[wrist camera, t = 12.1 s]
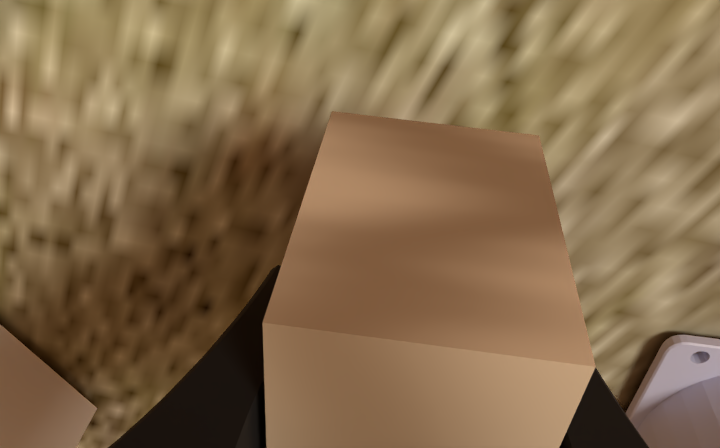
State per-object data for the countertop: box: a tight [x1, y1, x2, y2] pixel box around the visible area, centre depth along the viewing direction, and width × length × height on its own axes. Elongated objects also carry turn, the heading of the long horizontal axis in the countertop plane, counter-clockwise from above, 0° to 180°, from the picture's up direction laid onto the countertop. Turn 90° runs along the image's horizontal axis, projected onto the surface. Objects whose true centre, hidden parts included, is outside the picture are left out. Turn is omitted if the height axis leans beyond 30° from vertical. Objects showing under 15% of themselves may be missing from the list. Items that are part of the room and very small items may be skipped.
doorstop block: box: [263, 112, 596, 448], centre depth 10 cm, size 4×6×5 cm, turn 176°
